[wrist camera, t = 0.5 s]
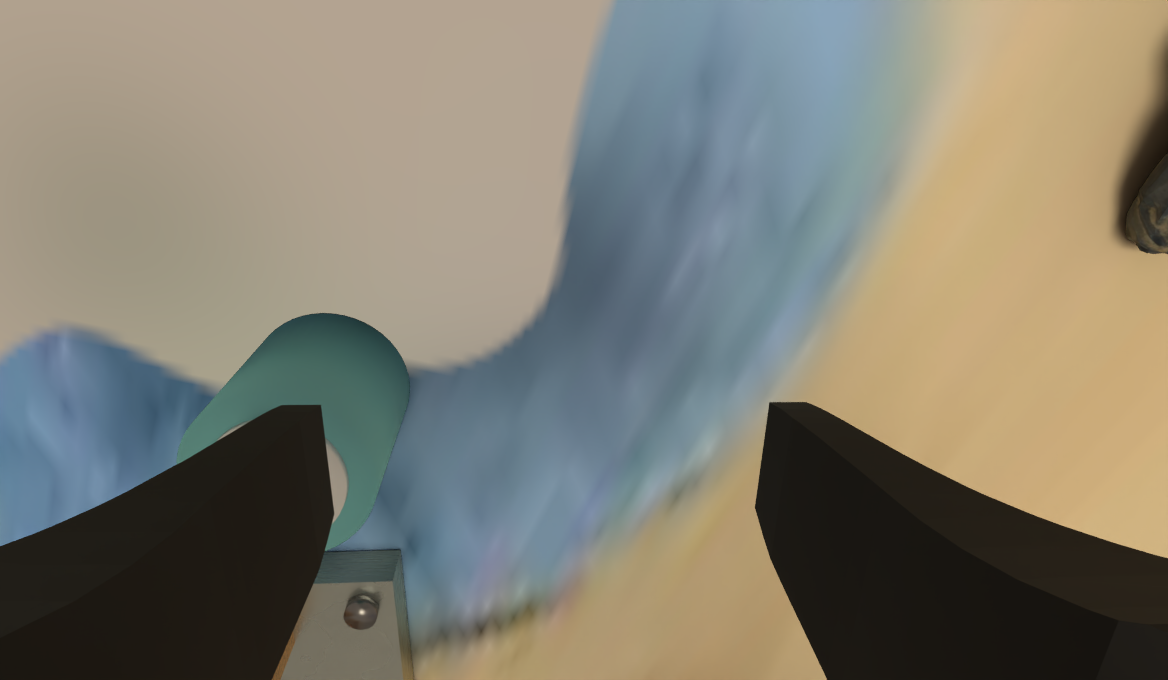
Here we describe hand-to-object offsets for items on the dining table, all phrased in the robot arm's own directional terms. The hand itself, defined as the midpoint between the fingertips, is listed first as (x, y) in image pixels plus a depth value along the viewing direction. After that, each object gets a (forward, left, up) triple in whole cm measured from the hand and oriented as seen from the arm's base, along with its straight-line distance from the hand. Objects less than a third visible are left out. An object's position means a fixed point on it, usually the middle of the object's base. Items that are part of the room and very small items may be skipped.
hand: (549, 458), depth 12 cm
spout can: (-3, +6, -10) cm, 12 cm away
